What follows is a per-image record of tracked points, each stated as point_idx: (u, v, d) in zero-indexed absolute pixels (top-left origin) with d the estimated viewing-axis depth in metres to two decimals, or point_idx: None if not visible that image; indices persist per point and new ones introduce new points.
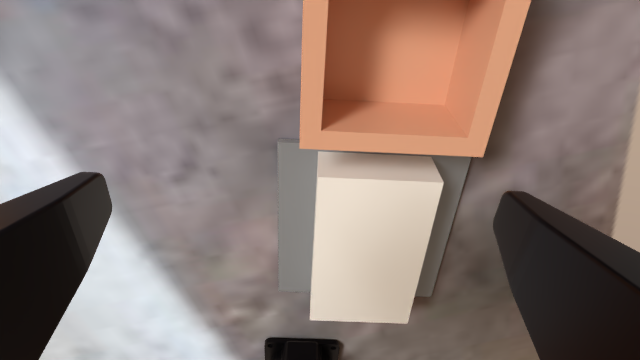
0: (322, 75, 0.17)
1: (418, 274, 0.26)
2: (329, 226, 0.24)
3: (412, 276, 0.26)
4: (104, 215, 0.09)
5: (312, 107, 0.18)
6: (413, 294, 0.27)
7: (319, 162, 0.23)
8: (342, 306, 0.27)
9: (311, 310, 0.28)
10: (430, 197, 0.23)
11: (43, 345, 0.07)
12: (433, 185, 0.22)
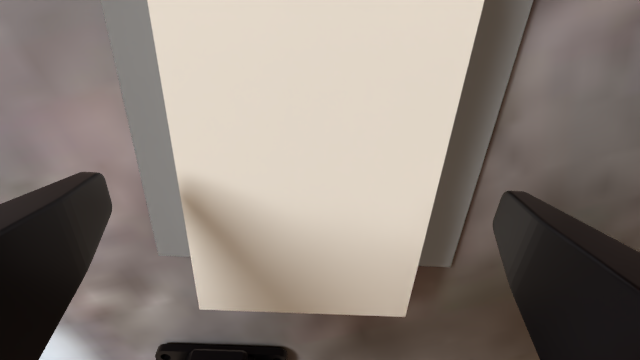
0: None
1: (430, 199, 0.11)
2: (194, 53, 0.09)
3: (416, 205, 0.11)
4: (104, 215, 0.09)
5: None
6: (418, 250, 0.12)
7: None
8: (263, 279, 0.13)
9: (199, 289, 0.13)
10: None
11: (43, 345, 0.07)
12: None
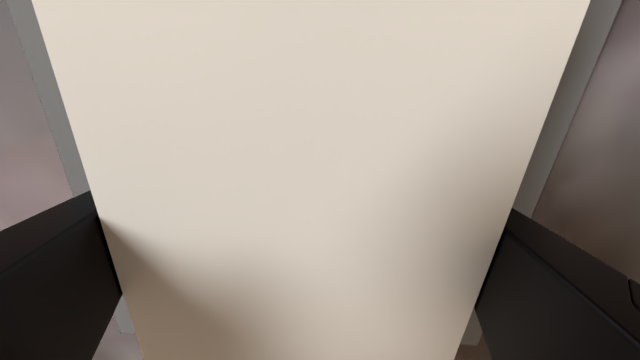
0: None
1: (468, 306, 0.08)
2: (128, 124, 0.06)
3: (448, 312, 0.08)
4: None
5: None
6: None
7: None
8: None
9: None
10: None
11: (95, 346, 0.07)
12: None
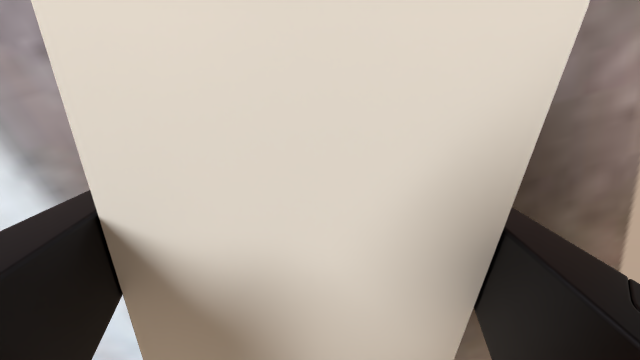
0: None
1: (468, 307, 0.08)
2: (128, 125, 0.06)
3: (448, 313, 0.08)
4: None
5: None
6: None
7: None
8: None
9: None
10: None
11: (95, 346, 0.07)
12: None
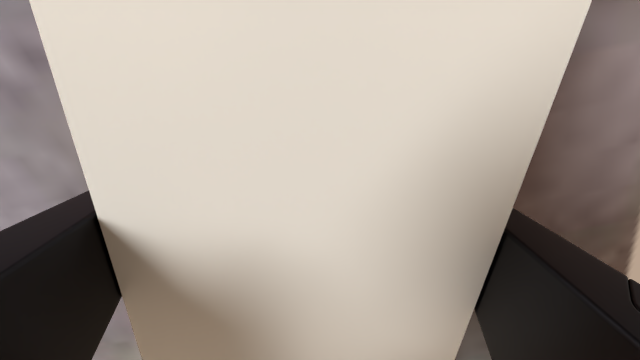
0: None
1: (469, 307, 0.08)
2: (126, 123, 0.06)
3: (449, 313, 0.08)
4: None
5: None
6: None
7: None
8: None
9: None
10: None
11: (95, 346, 0.07)
12: None
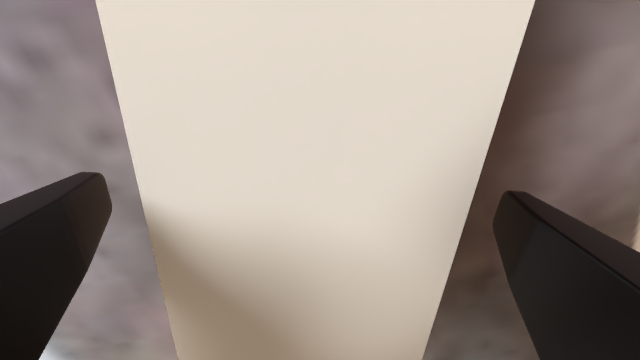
0: None
1: (450, 255, 0.09)
2: (164, 89, 0.07)
3: (433, 260, 0.09)
4: (104, 215, 0.09)
5: None
6: (433, 309, 0.10)
7: None
8: (253, 338, 0.11)
9: (178, 348, 0.11)
10: None
11: (43, 345, 0.07)
12: None
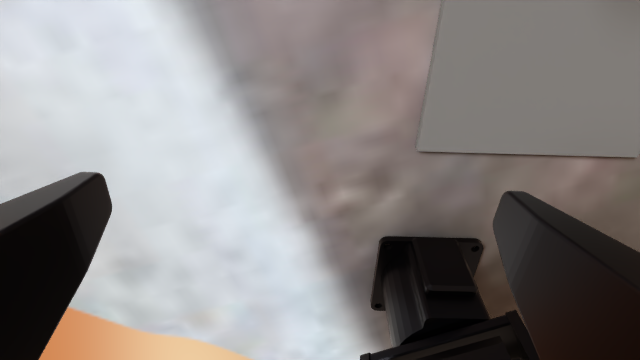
0: None
1: None
2: None
3: None
4: (104, 215, 0.09)
5: None
6: None
7: None
8: None
9: None
10: None
11: (43, 345, 0.07)
12: None
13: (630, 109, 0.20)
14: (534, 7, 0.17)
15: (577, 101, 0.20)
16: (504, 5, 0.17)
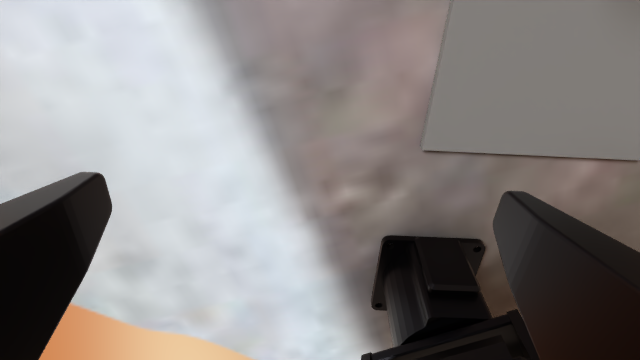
0: None
1: None
2: None
3: None
4: (104, 215, 0.09)
5: None
6: None
7: None
8: None
9: None
10: None
11: (43, 345, 0.07)
12: None
13: (635, 112, 0.20)
14: (542, 7, 0.17)
15: (583, 103, 0.20)
16: (513, 5, 0.17)
